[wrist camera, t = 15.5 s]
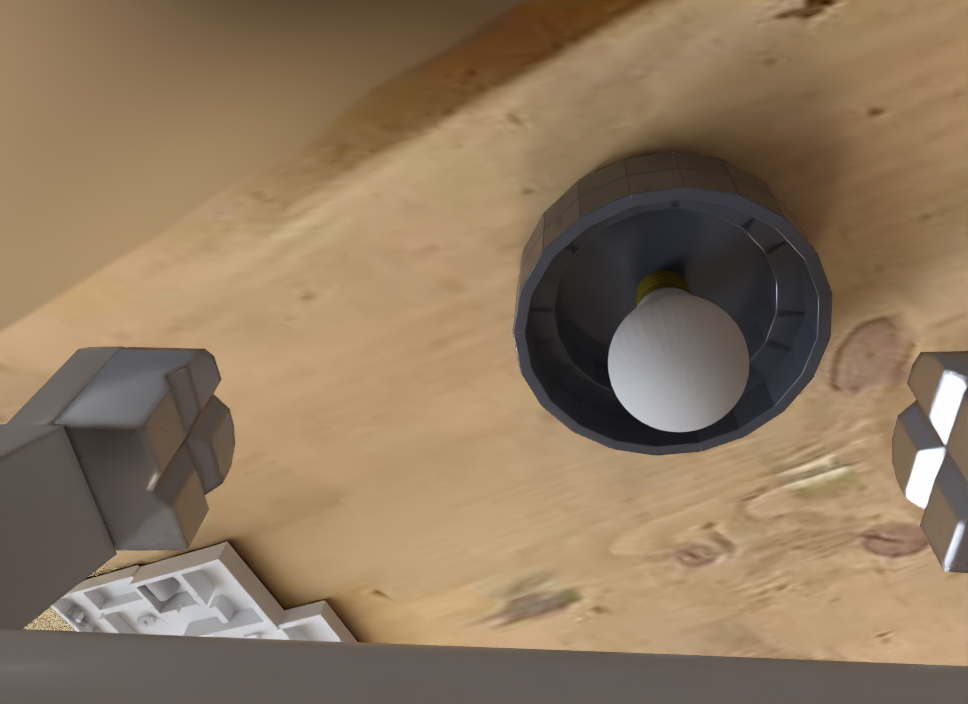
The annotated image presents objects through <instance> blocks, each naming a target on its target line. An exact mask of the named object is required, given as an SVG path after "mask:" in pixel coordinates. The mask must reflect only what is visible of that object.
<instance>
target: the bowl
mask: <svg viewBox="0 0 968 704" xmlns="http://www.w3.org/2000/svg"><path fill="white" fill-rule="evenodd" d="M664 270H665V271H672V272H675V273H677V274H679V275H681V276H682V277H683V278H684V279H685V280H686V282H687V283H688V286H689V288H690V291H691V294H692V295H693V296H696V297H700V298H702V299H705V300H708V301H710V302H712V303H713V304H715V305H717V306H719V307H720V308H721V309H722V310H724V311H725V312H726V313H727V314H728V315H729V316H730V317H731V318H732V319H733V320H734V321H735V322H736V324H737V325H738V327H739V329H740V330H741V332H742V334H743V336H744V339H745V341H746V344H747V348H748V354H749V375H748V379H747V383H746V386H745V389H744V391H743V393H742V395H741V397H740V399H739V400H738V402H737V403H736V405H735V406H734V407H733V408H732V409H731V410H730V411H729V412H728V413H727V414H726V415H725V416H724V417H722V418H721V419H720V420H718V421H717V422H715V423H713V424H712V425H709V426H707V427H705V428H702V429H699V430H695V431H689V432H668V431H663V430H659V429H656V428H653V427H651V426H649V425H647V424H645V423H643V422H641V421H640V420H638V419H637V418H635V417H634V416H633V415H632V414H631V413H629V412H628V411H627V410H626V409H625V407H624V406H623V405H622V403H621V402H620V401H619V399H618V398H617V396H616V394H615V392H614V389H613V387H612V385H611V381H610V377H609V372H608V356H609V348H610V345H611V342H612V339H613V336H614V334H615V332H616V330H617V328H618V327H619V325H620V324H621V323H622V321H623V320H624V319H625V317H626V316H628V315H629V314H630V313H631V312H632V311H633V310H634V309H635V308H636V290H637V287H638V285H639V283H640V282H641V281H642V280H643V279H644V278H645V277H646V276H647V275H649V274H651V273H654V272H657V271H664ZM831 314H832V291H831V289H830V286H829V283H828V281H827V278H826V275H825V272H824V270H823V267H822V264H821V261H820V259H819V256H818V253H817V252H816V250H815V248H814V247H813V245H812V243H811V242H810V240H809V238H808V237H807V235H806V233H805V232H804V230H803V229H802V227H801V225H800V224H799V222H798V220H797V219H796V217H795V215H794V214H793V212H792V211H791V210H790V209H789V208H788V206H787V205H786V204H785V203H784V202H783V201H782V200H781V199H780V198H779V197H778V195H777V194H776V193H775V192H774V191H773V190H772V189H771V188H770V187H769V186H768V184H767V183H766V182H764V181H763V180H762V179H760V178H758V177H756V176H754V175H752V174H751V173H749V172H747V171H745V170H743V169H741V168H739V167H737V166H735V165H733V164H731V163H729V162H727V161H725V160H721V159H720V158H713V157H706V156H700V155H693V154H687V153H680V152H667V153H660V154H653V155H647V156H640V157H634V158H627V159H624V160H620V161H618V162H616V163H614V164H612V165H610V166H608V167H605V168H603V169H601V170H599V171H597V172H595V173H593V174H591V175H589V176H587V177H585V178H582V179H580V181H578V182H577V183H576V184H574V185H573V186H572V187H571V188H570V189H569V190H568V191H567V192H566V193H565V194H564V195H562V196H561V197H560V198H559V199H558V200H557V201H556V202H555V203H554V204H553V205H552V206H551V207H549V208H548V209H547V210H546V212H544V214H543V216H542V217H541V219H540V221H539V223H538V225H537V226H536V228H535V230H534V232H533V233H532V235H531V237H530V239H529V241H528V242H527V244H526V246H525V248H524V251H523V256H522V262H521V268H520V274H519V280H518V286H517V295H516V304H515V314H514V324H513V337H514V342H515V347H516V352H517V357H518V362H519V367H520V371H521V373H522V375H523V377H524V378H525V380H526V382H527V383H528V385H529V386H530V388H531V390H532V391H533V393H534V395H535V396H536V398H537V399H538V401H539V403H540V404H541V406H543V407H544V408H545V409H546V410H547V411H548V412H550V413H551V414H552V415H553V416H554V417H556V418H557V419H558V420H559V421H560V422H562V423H563V424H564V425H565V426H566V427H568V428H569V429H570V430H571V431H573V432H574V433H576V434H579V435H581V436H583V437H586V438H588V439H590V440H593V441H595V442H597V443H600V444H602V445H604V446H606V447H609V448H613V449H616V450H622V451H629V452H636V453H642V454H649V455H668V454H679V453H690V452H700V451H704V450H707V449H710V448H713V447H716V446H719V445H722V444H725V443H728V442H731V441H734V440H737V439H739V438H742V437H744V436H747V435H748V434H750V433H751V432H753V431H754V430H756V429H757V428H759V427H761V426H762V425H764V424H765V423H767V422H768V421H770V420H771V419H773V418H774V417H776V416H778V415H779V414H781V413H782V412H783V411H785V409H786V408H787V407H788V406H789V405H790V404H791V403H792V402H793V400H794V399H795V398H796V397H797V396H798V395H799V394H800V392H801V391H802V390H803V389H804V388H805V387H806V386H807V385H808V383H809V382H810V381H811V380H812V379H813V377H814V375H815V373H816V370H817V368H818V366H819V363H820V361H821V359H822V356H823V354H824V352H825V349H826V347H827V345H828V342H829V340H830V336H831Z"/></svg>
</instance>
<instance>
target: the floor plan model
mask: <svg viewBox="0 0 968 704" xmlns="http://www.w3.org/2000/svg"><path fill="white" fill-rule="evenodd" d="M51 608H52V609H54V610H55V611H56V612H57V613H58V614H59V615H60V616H61V617H62V618H63V619H64V620H65V621H66V622H67V623H68V624H69V625H70V626H71V627H72V628H73V629H74V630H75V631H76V632H102V633H127V634H153V635H179V636H204V637H230V638H255V639H281V640H306V641H332V642H357V641H356V639H355V638H354V637H353V635H352V634H351V633H350V632H349V630H348V629H347V628H346V626H345V625H344V624H343V623H342V621H341V620H340V619H339V618H338V616H337V615H336V614H335V612H334V611H333V610H332V609H331V607H330V606H329V605H328V603H327V602H326V601H325V600H323V601H319V602H315V603H311V604H307V605H303V606H299V607H296V608H292V609H288V610H283V608H282V607H281V606H280V605H279V603H278V602H277V601H276V600H275V599H274V597H273V596H272V595H271V594H270V593H269V591H268V590H267V589H266V588H265V587H264V585H263V584H262V583H261V582H260V581H259V579H258V578H257V577H256V576H255V574H254V573H253V572H252V571H251V570H250V568H249V567H248V566H247V565H246V564H245V562H244V561H243V560H242V559H241V558H240V556H239V555H238V554H237V553H236V552H235V550H234V549H233V548H232V547H231V546H230V544H229V543H228V542H223V543H220V544H218V545H215V546H211V547H208V548H204V549H201V550H197V551H194V552H190V553H187V554H183V555H180V556H176V557H173V558H169V559H166V560H162V561H159V562H155V563H152V564H148V565H145V566H141V567H139V566H138V565H136V566H133V567H129V568H126V569H122V570H119V571H115V572H112V573H108V574H105V575H101V576H98V577H94V578H91V579H87V580H84V581H82V582H81V583H79V584H78V585H77V586H76V587H74V588H73V589H72V590H71V591H69V592H68V593H67V594H66V595H64V596H63V597H62V598H61V599H59V600H58V601H57V602H56V603H54V604H53V605H52V606H51Z"/></svg>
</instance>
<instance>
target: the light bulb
mask: <svg viewBox="0 0 968 704" xmlns="http://www.w3.org/2000/svg"><path fill="white" fill-rule="evenodd" d="M608 372H609V377H610V381H611V385H612V387H613V389H614V392H615V394H616V396H617V398H618V399H619V401H620V402H621V403H622V405H623V406H624V407H625V409H626V410H627V411H628V412H629V413H631V414H632V415H633V416H634V417H635V418H637V419H638V420H640V421H641V422H643V423H645V424H647V425H649V426H651V427H653V428H656V429H659V430H663V431H668V432H689V431H695V430H699V429H702V428H705V427H707V426H709V425H712V424H713V423H715V422H717V421H718V420H720V419H721V418H722V417H724V416H725V415H726V414H727V413H728V412H729V411H730V410H731V409H732V408H733V407H734V406H735V405H736V403H737V402H738V400H739V399H740V397H741V395H742V393H743V391H744V389H745V386H746V383H747V379H748V375H749V354H748V348H747V344H746V341H745V339H744V336H743V334H742V332H741V330H740V329H739V327H738V325H737V324H736V322H735V321H734V320H733V319H732V318H731V317H730V316H729V315H728V314H727V313H726V312H725V311H724V310H722V309H721V308H720V307H719V306H717V305H715V304H713V303H712V302H710V301H708V300H705V299H702V298H700V297H696V296H693V295H692V294H691V291H690V288H689V286H688V283H687V282H686V280H685V279H684V278H683V277H682V276H681V275H679V274H677V273H675V272H672V271H665V270H664V271H657V272H654V273H651V274H649V275H647V276H646V277H645V278H644V279H643V280H642V281H641V282H640V283H639V285H638V287H637V290H636V308H635V309H634V310H633V311H632V312H631V313H630V314H629V315H628V316H626V317H625V319H624V320H623V321H622V323H621V324H620V325H619V327H618V328H617V330H616V332H615V334H614V336H613V339H612V342H611V345H610V348H609V356H608Z"/></svg>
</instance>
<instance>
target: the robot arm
mask: <svg viewBox="0 0 968 704" xmlns="http://www.w3.org/2000/svg"><path fill="white" fill-rule="evenodd" d="M220 381H221V377H220V373H219V370H218V367H217V364H216V361H215V358H214V356H213V355H212V354H211V353H209V352H208V351H207V350H206V349H189V348H145V347H128V348H125V347H88V348H83V349H78V350H77V351H76V352H75V353H74V354H73V355H72V357H71V358H70V359H69V360H68V361H67V362H66V363H65V364H64V365H63V366H62V367H61V368H60V369H59V370H58V371H57V372H56V373H55V374H54V375H53V376H52V377H51V378H50V379H49V380H48V381H47V382H46V383H45V385H44V386H43V387H42V388H41V389H40V390H39V391H38V392H37V393H36V394H35V395H34V396H33V397H32V398H31V399H30V400H29V401H28V402H27V403H26V404H25V405H24V406H23V407H22V408H21V409H20V410H19V412H18V413H17V414H16V415H15V416H14V417H13V418H12V419H11V420H10V421H9V422H8V423H7V424H6V425H0V704H968V666H947V665H923V664H898V663H873V662H848V661H824V660H799V659H774V658H750V657H725V656H700V655H676V654H650V653H623V652H597V651H570V650H544V649H517V648H491V647H464V646H438V645H411V644H385V643H358V642H332V641H306V640H281V639H255V638H230V637H204V636H179V635H153V634H127V633H102V632H76V631H51V630H25V629H23V628H24V627H25V626H27V625H28V624H29V623H30V622H32V621H33V620H34V619H35V618H37V617H38V616H39V615H40V614H42V613H43V612H44V611H45V610H47V609H48V608H49V607H51V606H52V605H53V604H54V603H56V602H57V601H58V600H59V599H61V598H62V597H63V596H64V595H66V594H67V593H68V592H69V591H71V590H72V589H73V588H74V587H76V586H77V585H78V584H79V583H81V582H82V581H83V580H84V579H86V578H87V577H88V576H89V575H91V574H92V573H93V572H94V571H96V570H97V569H98V568H99V567H101V566H102V565H103V564H105V563H106V562H107V561H108V560H110V559H111V558H112V557H113V556H115V555H116V550H187V549H188V548H189V546H190V544H191V542H192V540H193V538H194V536H195V534H196V533H197V531H198V529H199V527H200V525H201V523H202V521H203V520H204V518H205V516H206V514H207V512H208V510H209V508H208V505H207V501H206V498H205V495H206V494H207V493H209V492H210V491H212V490H213V489H215V488H216V487H218V486H219V485H221V484H222V483H223V482H224V480H225V478H226V476H227V474H228V472H229V470H230V468H231V464H232V458H233V453H234V447H235V435H234V424H233V420H232V417H231V413H230V409H229V408H228V407H227V406H226V405H225V404H224V403H222V402H221V401H220V400H219V399H218V398H217V397H216V396H215V395H214V392H215V390H216V388H217V386H218V384H219V383H220ZM907 384H908V386H909V388H910V389H911V391H912V392H913V394H914V396H915V397H916V399H917V400H916V401H915V402H914V403H912V404H911V405H910V406H909V407H908V408H906V409H905V410H904V411H903V412H902V413H901V414H899V415H898V417H897V421H896V426H895V430H894V434H893V438H892V463H893V467H894V471H895V475H896V479H897V481H898V483H899V486H900V488H901V490H902V492H903V494H904V496H905V497H906V498H908V499H909V500H911V501H912V502H914V503H915V504H917V505H918V506H920V507H921V508H923V509H924V510H925V511H924V514H923V517H922V521H921V524H920V527H921V529H922V531H923V532H924V534H925V536H926V538H927V540H928V542H929V544H930V546H931V548H932V550H933V551H934V553H935V555H936V557H937V559H938V561H939V563H940V565H941V567H942V568H943V570H944V572H960V573H968V351H952V352H921V353H920V354H919V356H918V357H917V359H916V360H915V362H914V363H913V365H912V369H911V372H910V375H909V379H908V382H907Z"/></svg>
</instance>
